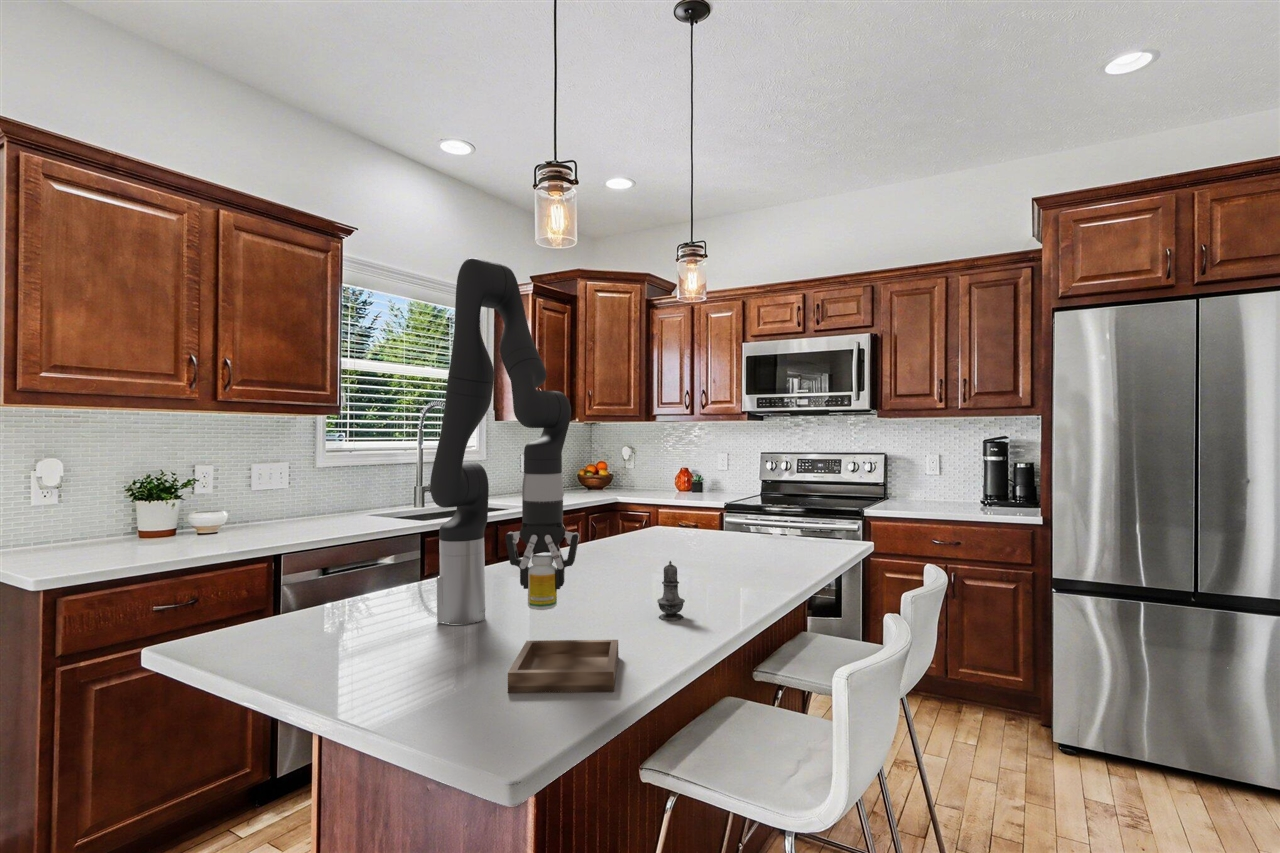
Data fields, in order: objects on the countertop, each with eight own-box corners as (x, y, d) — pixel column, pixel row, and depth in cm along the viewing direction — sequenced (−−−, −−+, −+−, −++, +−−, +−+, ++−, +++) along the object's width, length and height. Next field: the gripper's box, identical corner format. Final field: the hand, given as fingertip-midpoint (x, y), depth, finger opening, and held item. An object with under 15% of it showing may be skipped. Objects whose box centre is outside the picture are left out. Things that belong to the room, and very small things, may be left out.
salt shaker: (685, 621, 140) (684, 563, 141) (657, 621, 141) (656, 563, 141) (684, 613, 146) (683, 557, 146) (657, 614, 146) (656, 558, 147)
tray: (507, 692, 103) (507, 672, 103) (526, 657, 119) (526, 640, 119) (613, 691, 103) (613, 671, 103) (618, 656, 119) (618, 639, 119)
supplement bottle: (524, 604, 128) (524, 554, 128) (551, 601, 131) (551, 551, 131) (532, 612, 123) (532, 559, 123) (560, 608, 126) (560, 556, 126)
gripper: (499, 499, 123) (499, 592, 123) (579, 499, 123) (578, 593, 123) (508, 495, 131) (508, 583, 131) (583, 495, 131) (583, 583, 131)
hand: (542, 587), depth 127 cm, fingers closed on supplement bottle, 5 cm apart
